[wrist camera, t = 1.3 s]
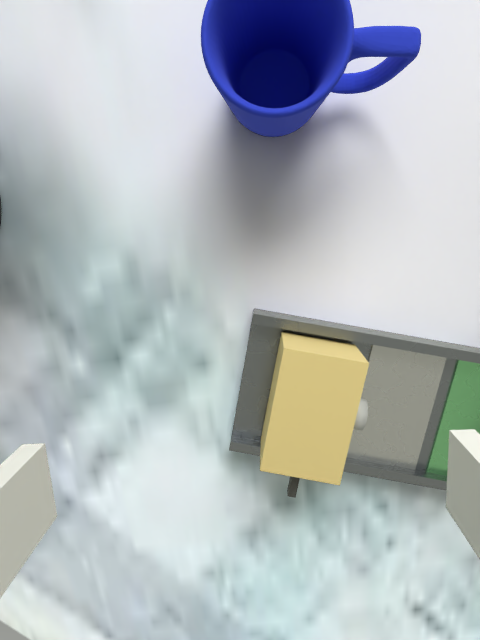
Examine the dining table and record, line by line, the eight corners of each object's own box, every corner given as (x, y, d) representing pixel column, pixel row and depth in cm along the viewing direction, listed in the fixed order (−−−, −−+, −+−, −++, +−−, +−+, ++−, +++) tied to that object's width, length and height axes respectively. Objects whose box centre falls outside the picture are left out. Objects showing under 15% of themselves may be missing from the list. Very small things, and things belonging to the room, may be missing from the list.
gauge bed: (231, 438, 39) (229, 450, 37) (254, 308, 36) (253, 313, 34) (532, 493, 38) (548, 509, 36) (577, 365, 36) (596, 374, 34)
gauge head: (255, 466, 38) (253, 502, 33) (281, 331, 35) (283, 348, 30) (337, 482, 38) (347, 519, 33) (369, 347, 35) (386, 366, 30)
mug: (375, 150, 33) (420, 117, 24) (219, 148, 34) (200, 116, 24) (385, 30, 32) (437, -58, 22) (220, 32, 32) (200, -54, 23)
